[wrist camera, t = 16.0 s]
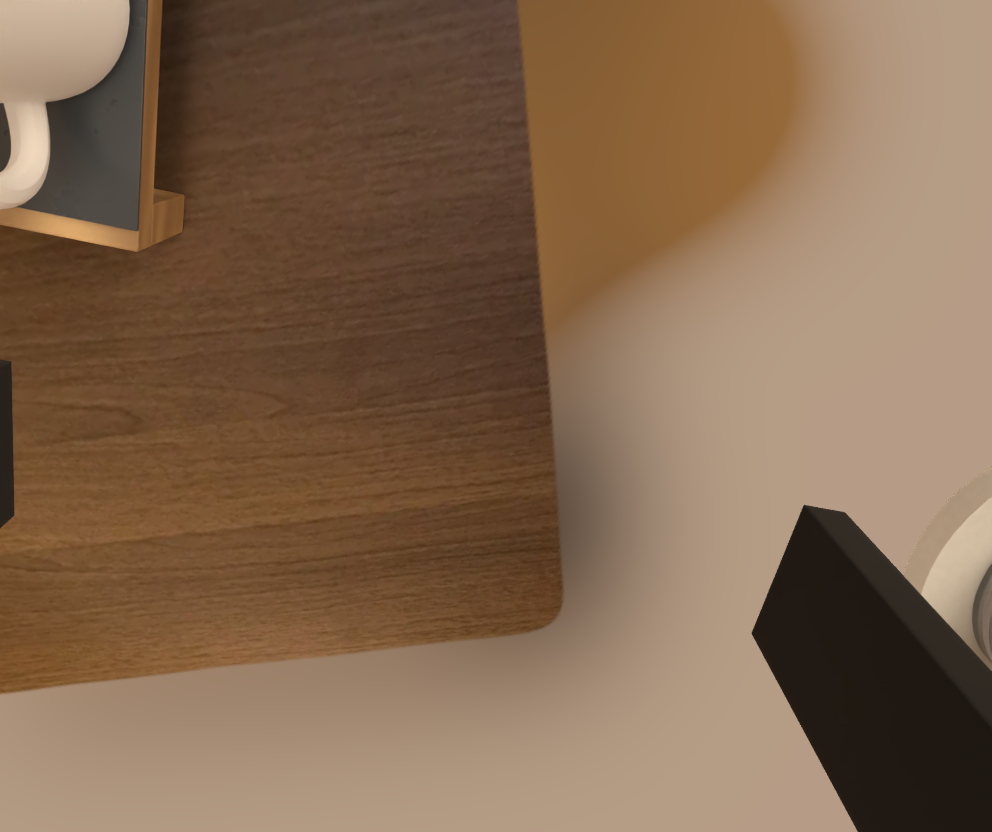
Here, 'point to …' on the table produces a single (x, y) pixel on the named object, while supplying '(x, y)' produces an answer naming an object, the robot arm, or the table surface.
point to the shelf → (105, 154)
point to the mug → (49, 74)
